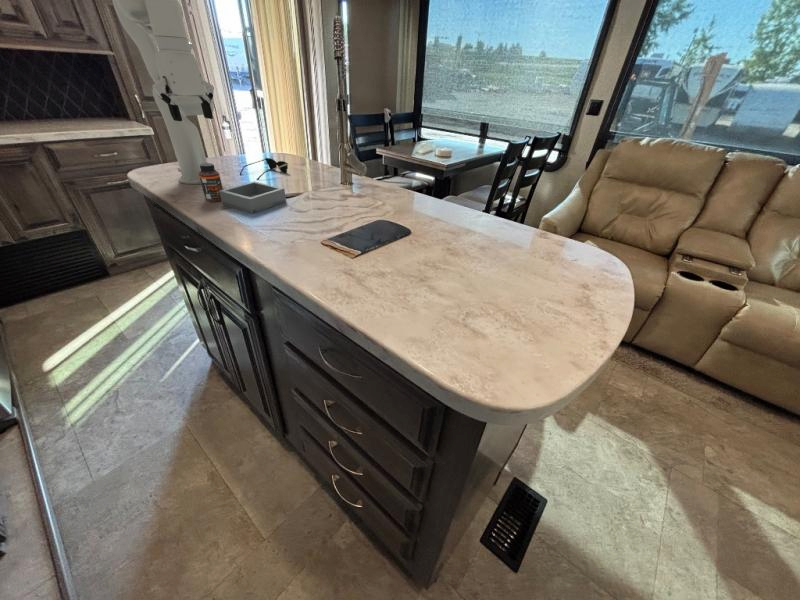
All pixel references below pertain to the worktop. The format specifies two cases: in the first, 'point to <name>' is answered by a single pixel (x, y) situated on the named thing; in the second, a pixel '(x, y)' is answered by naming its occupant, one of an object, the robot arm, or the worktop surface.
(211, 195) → the supplement bottle
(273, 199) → the bin
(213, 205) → the worktop surface
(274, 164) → the sunglasses
